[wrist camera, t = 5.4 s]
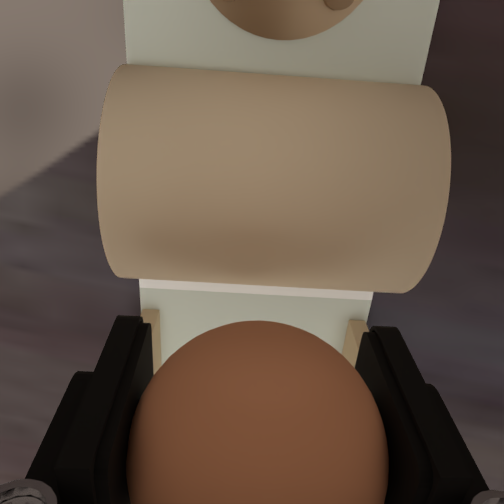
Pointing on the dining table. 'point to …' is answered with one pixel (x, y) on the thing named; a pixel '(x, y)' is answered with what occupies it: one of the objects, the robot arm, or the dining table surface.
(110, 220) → the lane
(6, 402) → the dining table surface
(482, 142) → the dining table surface
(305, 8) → the tee
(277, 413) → the ball
